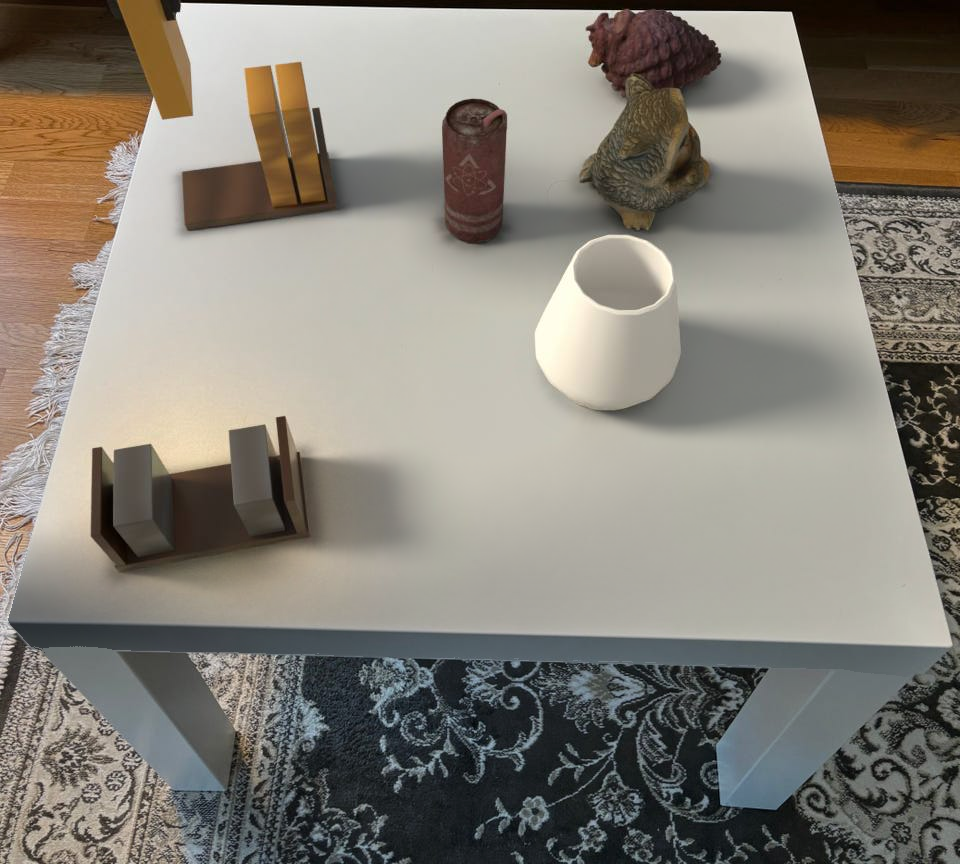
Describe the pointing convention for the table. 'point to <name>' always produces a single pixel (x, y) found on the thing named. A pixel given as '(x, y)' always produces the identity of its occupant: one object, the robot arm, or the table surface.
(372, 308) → the table surface
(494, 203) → the can
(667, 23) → the pine cone
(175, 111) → the ochre book
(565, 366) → the cup
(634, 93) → the figurine
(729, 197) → the table surface
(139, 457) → the brown book rack
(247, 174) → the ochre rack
